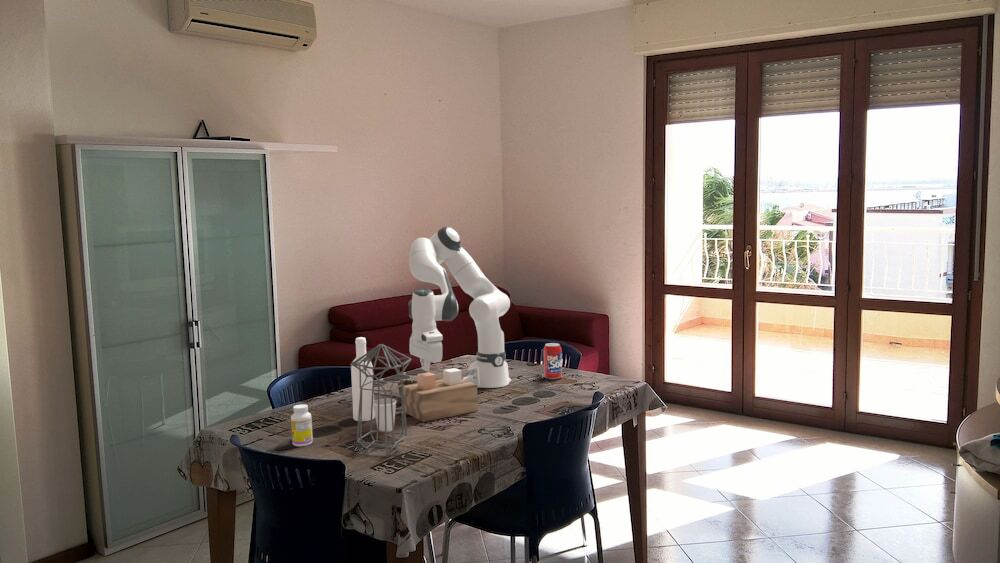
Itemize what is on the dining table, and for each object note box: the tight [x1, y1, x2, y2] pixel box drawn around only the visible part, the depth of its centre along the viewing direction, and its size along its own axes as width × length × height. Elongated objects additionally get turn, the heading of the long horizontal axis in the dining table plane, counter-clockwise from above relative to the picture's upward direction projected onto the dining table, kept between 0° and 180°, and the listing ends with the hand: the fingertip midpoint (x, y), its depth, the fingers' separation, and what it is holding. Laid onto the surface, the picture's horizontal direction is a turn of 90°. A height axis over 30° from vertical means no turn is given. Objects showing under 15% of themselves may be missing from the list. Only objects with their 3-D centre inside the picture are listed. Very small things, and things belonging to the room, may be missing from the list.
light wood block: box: [403, 378, 479, 423], centre depth 290 cm, size 16×23×10 cm
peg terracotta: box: [416, 371, 437, 390], centre depth 286 cm, size 5×5×9 cm
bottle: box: [350, 336, 376, 422], centre depth 282 cm, size 8×8×30 cm
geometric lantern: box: [349, 343, 412, 458], centre depth 244 cm, size 16×16×35 cm
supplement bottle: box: [290, 403, 314, 448], centre depth 256 cm, size 7×7×13 cm
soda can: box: [543, 342, 563, 381], centre depth 337 cm, size 8×8×15 cm
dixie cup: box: [373, 397, 398, 432], centre depth 270 cm, size 8×8×10 cm
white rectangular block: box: [442, 367, 463, 386], centre depth 292 cm, size 5×5×9 cm
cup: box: [397, 379, 418, 397], centre depth 305 cm, size 8×7×8 cm
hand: (425, 370), depth 286 cm, fingers closed
